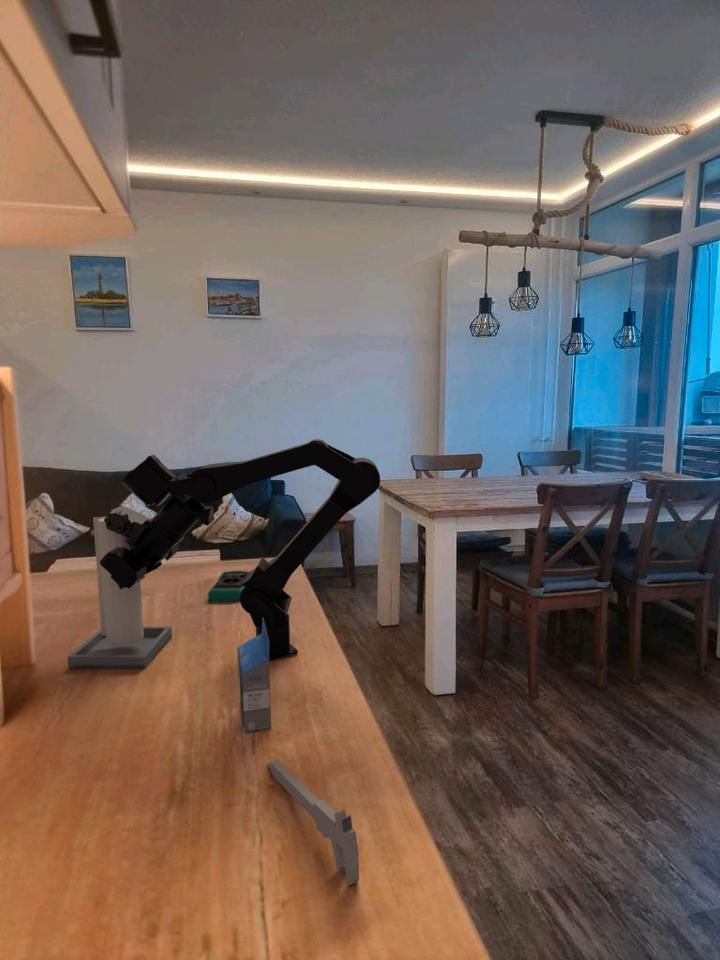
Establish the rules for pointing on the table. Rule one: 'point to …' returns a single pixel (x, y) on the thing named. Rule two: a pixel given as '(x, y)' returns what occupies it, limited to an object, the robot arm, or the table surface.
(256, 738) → the table surface
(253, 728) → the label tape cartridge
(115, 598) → the paper towel roll
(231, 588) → the digital multimeter
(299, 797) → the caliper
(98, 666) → the tray
